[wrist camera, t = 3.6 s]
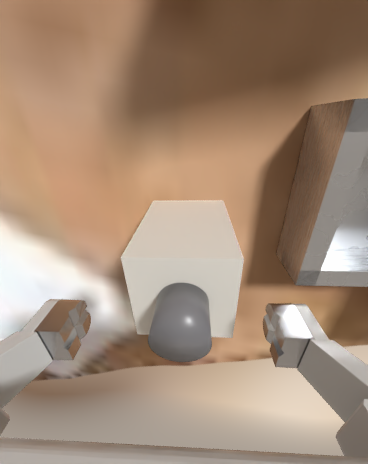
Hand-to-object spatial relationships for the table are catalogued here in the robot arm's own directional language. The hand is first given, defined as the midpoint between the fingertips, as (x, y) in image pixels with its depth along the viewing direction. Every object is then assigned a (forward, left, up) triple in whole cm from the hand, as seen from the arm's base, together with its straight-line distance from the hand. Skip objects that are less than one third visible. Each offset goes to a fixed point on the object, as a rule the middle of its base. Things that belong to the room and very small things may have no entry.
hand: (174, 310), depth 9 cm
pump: (0, 0, -7) cm, 7 cm away
